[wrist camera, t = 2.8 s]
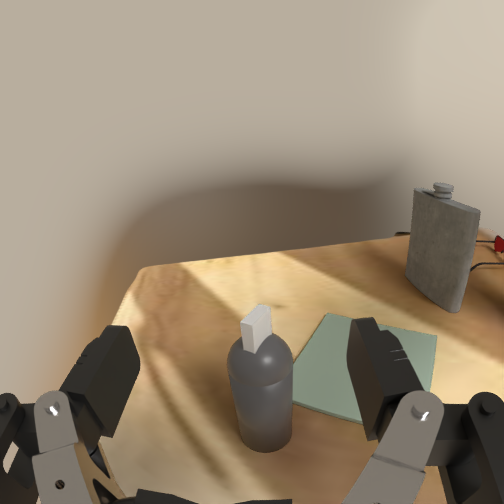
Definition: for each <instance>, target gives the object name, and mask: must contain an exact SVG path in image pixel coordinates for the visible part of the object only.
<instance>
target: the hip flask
mask: <svg viewBox="0 0 504 504" xmlns="http://www.w3.org/2000/svg"><path fill="white" fill-rule="evenodd" d="M433 186H434V187H433V188H434V189H435V191H432V190H428V189H424V188H415V189H414V198H413V212H412V223H411V233H410V242H409V250H408V257H407V265H406V271H405V276H406V277H407V279H408V280H409V281H410V282H411V283H412V284H413V285H414V286H415V287H416V288H417V289H418V290H419V291H421V292H422V293H423V294H424V295H425V296H426V297H428V298H429V299H430V300H432V301H433V302H434V303H436V304H437V305H439V306H440V307H442V308H443V309H445V310H446V311H448V312H451V313H457V312H458V311H459V310H460V307H461V303H462V300H463V296H464V292H465V289H466V285H467V281H468V277H469V272H470V268H471V264H472V259H473V254H474V249H475V244H476V238H477V233H478V226H479V220H480V210H478V209H476V208H472V207H470V206H467V205H464V204H461V203H459V202H456V201H454V200H451V198H452V194H451V192H453V188H454V187H453V186H452V185H449V184H445V183H434V185H433Z"/></svg>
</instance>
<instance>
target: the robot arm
mask: <svg viewBox="0 0 504 504" xmlns="http://www.w3.org/2000/svg"><path fill="white" fill-rule="evenodd" d="M346 361H347V368H348V372H349V375H350V379H351V382H352V386H353V389H354V393H355V396H356V400H357V403H358V407H359V411H360V415H361V418H362V422H363V426H364V430H365V434H366V438H367V441H371V440H376V439H378V442H379V445H378V447H377V449H376V450H375V452H374V454H373V455H372V456H371V458H370V460H369V461H368V463H367V465H366V466H365V468H364V470H363V471H362V473H361V475H360V476H359V478H358V479H357V481H356V482H355V484H354V486H353V487H352V489H351V490H350V492H349V493H348V495H347V496H346V498H345V499H344V501H343V502H342V503H341V504H413V502H414V500H415V498H416V496H417V494H418V492H419V489H420V487H421V485H422V483H423V480H424V477H425V472H424V468H425V466H438V469H439V473H440V476H441V480H442V484H443V488H444V492H445V496H446V500H447V504H504V402H503V401H502V400H501V398H500V397H498V396H497V395H495V394H493V393H490V392H480V393H477V394H476V395H474V396H473V397H472V398H471V400H470V401H469V403H468V404H444V403H442V402H441V400H440V399H439V398H438V397H437V396H436V395H434V394H433V393H430V392H427V391H425V390H424V388H423V386H422V384H421V382H420V380H419V378H418V376H417V374H416V372H415V370H414V368H413V366H412V364H411V362H410V360H409V359H408V356H407V354H406V352H405V351H404V350H403V347H402V345H401V343H400V341H399V339H398V338H397V337H396V336H395V335H394V334H392V333H391V332H390V331H389V330H381V331H380V329H379V327H378V325H377V323H376V321H375V319H374V318H373V317H369V318H360V319H352V321H351V324H350V332H349V339H348V346H347V354H346ZM139 371H140V357H139V354H138V352H137V349H136V346H135V344H134V341H133V338H132V335H131V332H130V330H129V328H128V327H127V326H115V325H109V326H107V327H106V328H105V329H104V331H103V332H102V334H101V335H100V337H99V338H96V339H94V340H93V341H92V342H91V343H89V344H88V345H87V346H86V348H85V349H84V351H83V352H82V354H81V357H79V359H78V360H77V362H76V364H75V365H74V366H73V368H72V369H71V371H70V373H69V374H68V376H67V378H66V379H65V381H64V382H63V384H62V386H61V387H60V389H59V391H50V392H47V393H45V394H43V395H42V396H40V398H39V399H38V400H37V401H36V403H32V404H21V403H20V402H19V401H18V399H17V398H16V397H15V395H13V394H11V393H4V394H1V395H0V504H36V502H37V499H38V496H39V497H40V501H41V504H198V503H195V502H192V501H189V500H186V499H183V498H180V497H178V496H175V495H172V494H165V493H159V492H153V491H148V490H143V489H138V491H137V495H136V497H127V498H126V496H125V495H124V493H123V492H122V490H121V489H120V488H119V486H118V484H117V483H116V480H115V478H114V476H113V474H112V471H111V469H110V466H109V464H108V462H107V459H106V456H105V454H104V451H103V449H102V446H101V444H100V443H99V439H100V437H101V435H102V436H106V437H111V438H113V435H114V433H115V430H116V428H117V425H118V423H119V420H120V418H121V415H122V413H123V410H124V408H125V405H126V403H127V400H128V398H129V395H130V393H131V391H132V388H133V386H134V383H135V381H136V379H137V376H138V374H139ZM12 441H13V442H14V443H15V444H16V445H17V447H18V448H19V449H18V451H17V454H16V456H15V458H14V460H13V462H12V465H11V467H10V470H9V472H8V474H7V473H6V472H5V470H4V468H3V459H4V457H5V455H6V453H7V451H8V449H9V447H10V445H11V443H12ZM235 504H292V499H285V500H251V501H246V502H241V503H235Z"/></svg>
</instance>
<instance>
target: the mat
mask: <svg viewBox="0 0 504 504" xmlns="http://www.w3.org/2000/svg"><path fill="white" fill-rule="evenodd" d="M352 319H353V318H348V317H344V316H339V315H335V314H330V313H327V314H326V316H325V317H324V319H323V320H322V322H321V324H320V325H319V327H318V328H317V330H316V331H315V333H314V334H313V336H312V337H311V339H310V340H309V342H308V343H307V345H306V346H305V348H304V349H303V351H302V352H301V354H300V355H299V357H298V358H297V359H296V361H295V362H294V364H293V401H292V403H294V404H297V405H300V406H303V407H306V408H309V409H312V410H315V411H318V412H321V413H324V414H328V415H331V416H334V417H338V418H341V419H345V420H348V421H352V422H355V423H359V424H363V422H362V418H361V415H360V411H359V407H358V403H357V400H356V396H355V393H354V389H353V386H352V382H351V379H350V375H349V372H348V368H347V361H346V354H347V346H348V339H349V332H350V324H351V321H352ZM377 325H378V327H379V329H380V331H381V330H389V331H390V332H391V333H392V334H394V335H395V336H396V337H397V338H398V339H399V341H400V343H401V345H402V347H403V350H404V351H405V352H406V354H407V356H408V359H409V360H410V362H411V364H412V366H413V368H414V370H415V372H416V374H417V376H418V378H419V380H420V382H421V384H422V386H423V388H424V390H425V391H427V392H430V388H431V381H432V375H433V368H434V360H435V352H436V342H437V336H436V335H431V334H425V333H420V332H415V331H410V330H405V329H400V328H395V327H390V326H385V325H381V324H377Z"/></svg>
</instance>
